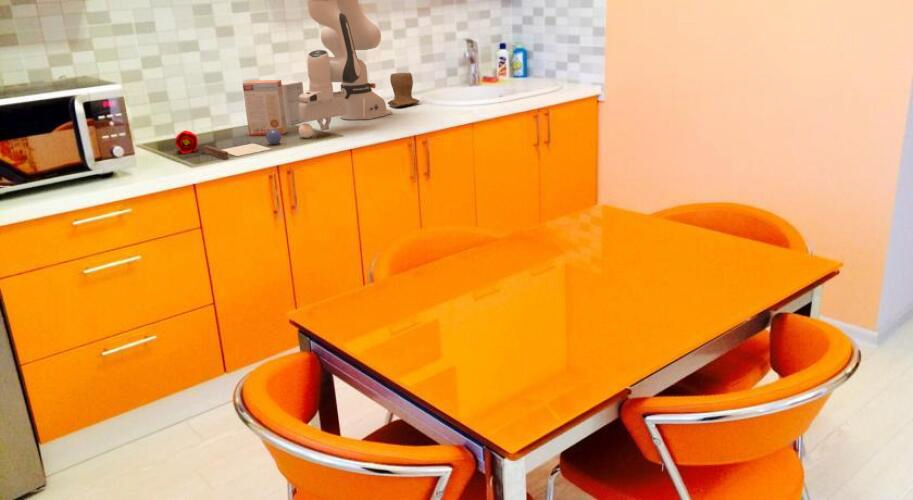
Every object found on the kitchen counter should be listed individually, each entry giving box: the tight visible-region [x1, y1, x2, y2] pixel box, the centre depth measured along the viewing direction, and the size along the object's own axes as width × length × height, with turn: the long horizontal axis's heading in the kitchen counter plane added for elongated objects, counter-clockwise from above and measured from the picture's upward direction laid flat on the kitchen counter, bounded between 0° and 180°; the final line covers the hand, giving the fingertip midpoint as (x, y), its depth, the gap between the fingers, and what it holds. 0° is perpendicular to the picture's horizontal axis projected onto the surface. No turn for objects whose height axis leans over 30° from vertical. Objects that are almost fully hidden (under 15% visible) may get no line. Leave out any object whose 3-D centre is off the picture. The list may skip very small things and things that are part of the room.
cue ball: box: [298, 123, 314, 139], centre depth 313 cm, size 6×6×6 cm
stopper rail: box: [203, 145, 230, 161], centre depth 291 cm, size 2×16×2 cm, turn 41°
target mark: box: [221, 143, 272, 157], centre depth 298 cm, size 14×14×1 cm
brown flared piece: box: [387, 72, 420, 109], centre depth 370 cm, size 15×12×15 cm
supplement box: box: [281, 79, 305, 126], centre depth 342 cm, size 10×9×17 cm
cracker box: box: [242, 79, 288, 136], centre depth 320 cm, size 14×6×21 cm, turn 84°
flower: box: [174, 130, 198, 154], centre depth 299 cm, size 8×8×8 cm
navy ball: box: [265, 130, 282, 145], centre depth 304 cm, size 6×6×6 cm
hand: (325, 129), depth 318 cm, fingers closed
